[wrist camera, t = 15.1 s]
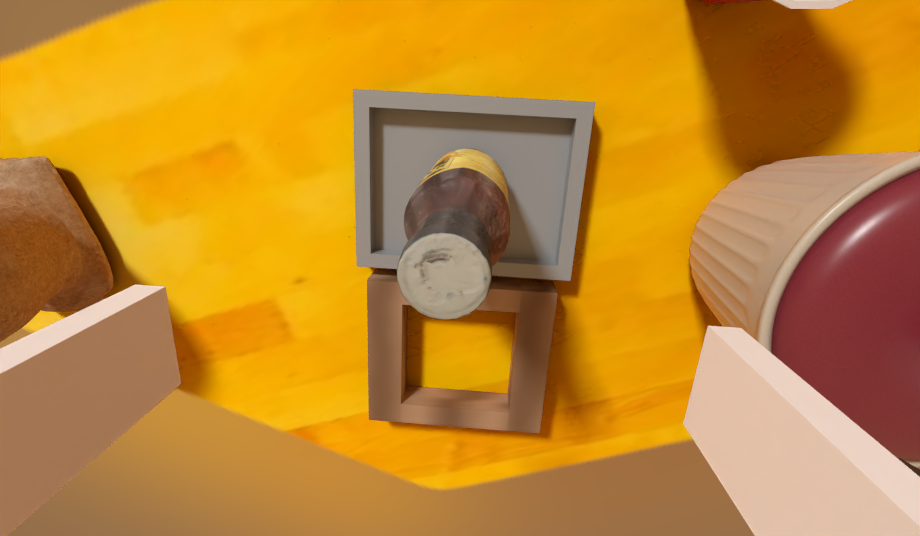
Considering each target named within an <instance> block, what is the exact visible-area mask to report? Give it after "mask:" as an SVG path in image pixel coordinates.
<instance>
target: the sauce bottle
mask: <svg viewBox="0 0 920 536" xmlns="http://www.w3.org/2000/svg"><path fill="white" fill-rule="evenodd" d="M510 219H511V217H510V206H509V199H508V190H507V184H506V179H505V175H504V173H503V171H502V169H501V168H500V166H499V165H498V164H497V162H496V161H495V160H494V159H493V158H491V157H490V156H489V155H487V154H486V153H484V152H482V151H480V150H477V149H470V148H467V149H458V150H455V151H452V152H449V153H447V154H446V155H444V156H443V157H442V158H440V159H439V160H438V161H437V163H436V164H435V165H434V166H433V168H432V169H431V170H430V171H429V173H428V174H427V175H426V177H425V178H424V179H423V180H422V182H421V183H420V184H419V186H418V187H417V188H416V190H415V191H414V193H413V194H412V196H411V198H410V199H409V201H408V203H407V206H406V209H405V213H404V230H405V234H406V237H407V239H408V242H407V243H406V245H405V247H404V249H403V251H402V254H401V256H400V259H399V261H398V266H397V281H398V284H399V287H400V290H401V293H402V295H403V296H404V298H405V299H406V300H407V301H408V303H409V304H410V305H411V306H412V307H413V308H415V309H416V310H417V311H418V312H420V313H422V314H424V315H426V316H428V317H431V318H435V319H441V320H450V319H457V318H460V317H463V316H466V315H469V314H470V313H471V312H473V311H474V310H476V309H477V308H478V307H479V306H480V305H481V304H482V303H483V301H484V300H485V298H486V297H487V295H488V292H489V290H490V286H491V281H492V267H493V266H494V265H495V264H496V263H497V262H498V260H499V259H500V258H501V256H502V255H503V253H504V251H505V249H506V246H507V244H508V240H509V236H510Z"/></svg>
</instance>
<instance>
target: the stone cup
mask: <svg viewBox="0 0 920 536" xmlns="http://www.w3.org/2000/svg"><path fill="white" fill-rule="evenodd" d="M113 280H114V279H113V274H112V271H111V268H110V265H109V262H108V259H107V257H106V255H105V252H104V250H103V248H102V246H101V244H100V242H99V240H98V239H97V237H96V235H95V234H94V232H93V230H92V228H91V226H90V225H89V223H88V222H87V220H86V218H85V216H84V215H83V213H82V211H81V209H80V208H79V206H78V204H77V203H76V201H75V200H74V198H73V196H72V195H71V193H70V192H69V190H68V188H67V187H66V185H65V183H64V182H63V180H62V178H61V177H60V175H59V173H58V171H57V170H56V168H55V167H54V165H53V164H52V163H51V161H50V160H49V159H48V158H46V157H45V156H44V157H28V158H23V159H19V158H11V159H1V158H0V342H1V341H3V340H4V339H6V338H7V337H8V336H10V335H11V334H13V333H14V332H16V331H18V330H19V329H21V328H22V327H23V326H24V325H26V324H27V323H28V322H29V321H30V320H31V319H32V318H33V317H34V316H35V315H36V314H37V313H38V312H39V311H40V310H42V311H52V312H65V311H75V310H80V309H83V308H86V307H89V306H91V305H93V304H95V303H97V302H100V301H102V299H103V297H104V296H105V295H106V294H108V293H109V292H110V291H111V290H112V287H113Z"/></svg>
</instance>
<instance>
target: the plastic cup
mask: <svg viewBox="0 0 920 536" xmlns="http://www.w3.org/2000/svg"><path fill="white" fill-rule="evenodd" d="M701 1H703V2H707V3H728V2H748V1H759V0H701ZM772 1H774V2H776V3H778V4H780V5H782V6H784V7H786V8H790V9H827V8H835V7H837V6H839V5H842V4H844V3H846V2H849V1H851V0H772Z"/></svg>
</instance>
